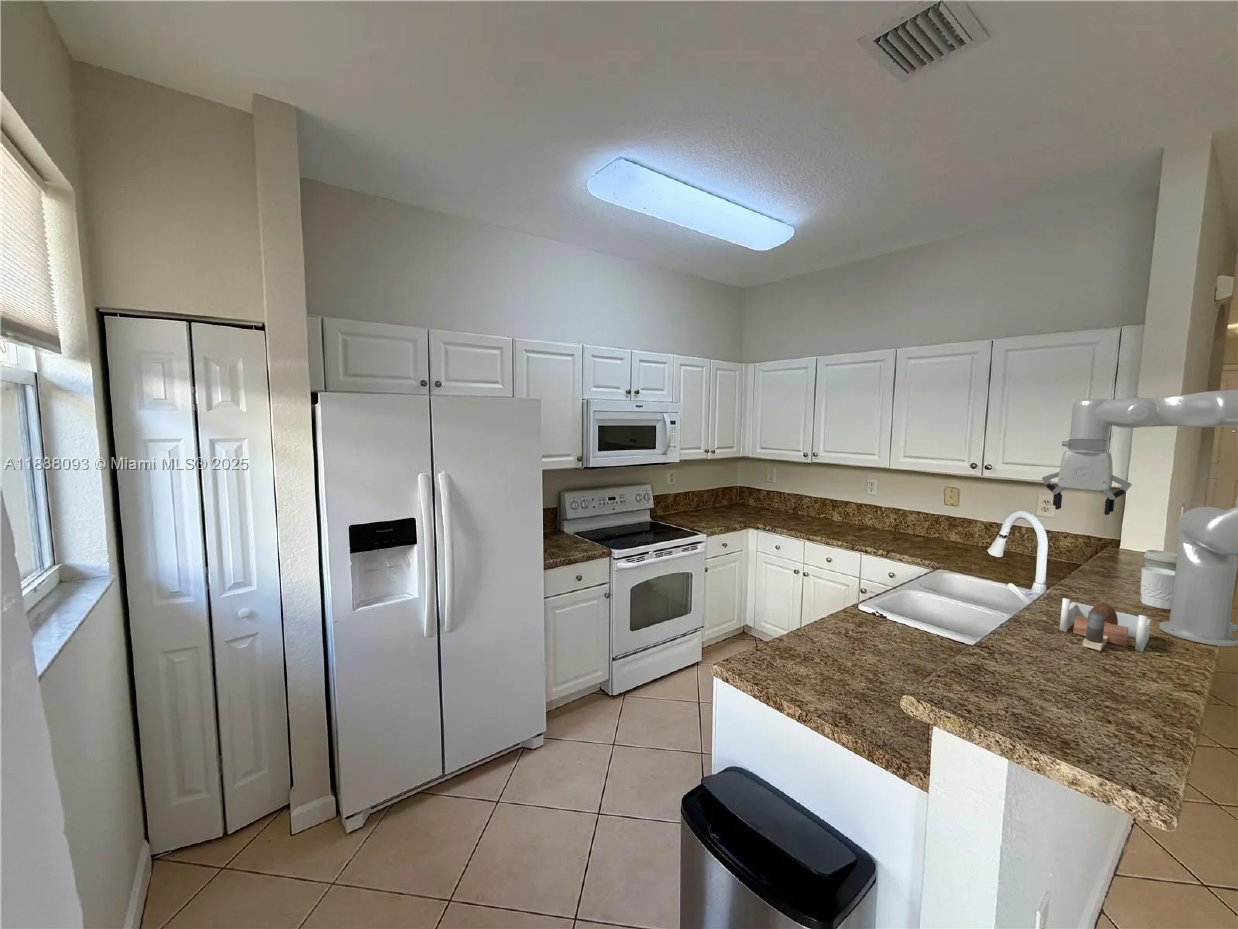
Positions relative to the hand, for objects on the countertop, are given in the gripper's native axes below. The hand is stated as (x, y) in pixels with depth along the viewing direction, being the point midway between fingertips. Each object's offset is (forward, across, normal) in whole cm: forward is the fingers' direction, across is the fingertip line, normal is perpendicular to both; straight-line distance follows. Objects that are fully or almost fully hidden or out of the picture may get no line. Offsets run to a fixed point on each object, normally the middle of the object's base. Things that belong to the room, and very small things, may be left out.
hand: (1081, 511), depth 133 cm
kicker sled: (+28, +7, -20) cm, 35 cm away
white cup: (+28, +14, +31) cm, 44 cm away
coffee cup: (+28, +13, +51) cm, 60 cm away
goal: (+28, +8, -11) cm, 31 cm away
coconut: (+28, +7, -13) cm, 32 cm away
